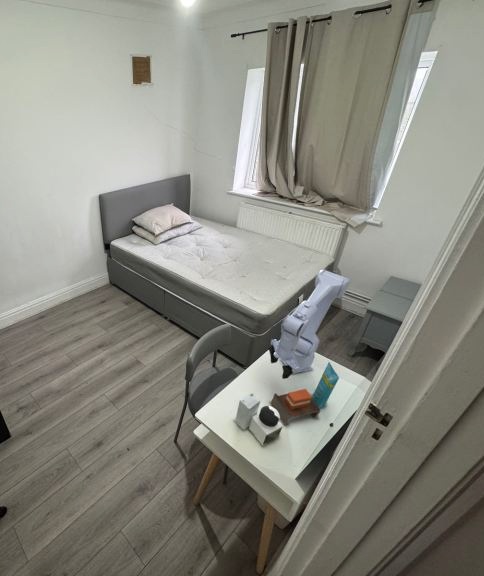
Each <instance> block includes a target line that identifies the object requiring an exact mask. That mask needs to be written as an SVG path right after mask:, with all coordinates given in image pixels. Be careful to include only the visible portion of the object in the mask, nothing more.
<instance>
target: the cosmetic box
mask: <svg viewBox="0 0 484 576" xmlns="http://www.w3.org/2000/svg"><path fill="white" fill-rule="evenodd" d="M260 404H261V400H260V399H259V398H258V397H257V396H256V395H254V393H252V392H250V393H248V394H247V395H246V396H244V397H243V398H241V399H240V400H239V403H238V405H237V410H236V415H235V419H234V422H235V423H236V424H237V425H238V426H239V427H240V428H241V429H242V430H243V431H244V430H246V429H247V428H249V426H250V423H251V419H252V417H253V416H255V415H257V414H258V412H259V409H260Z"/></svg>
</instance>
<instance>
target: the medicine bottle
mask: <svg viewBox="0 0 484 576" xmlns="http://www.w3.org/2000/svg"><path fill="white" fill-rule="evenodd" d="M280 420H281V418H280V415H279V413H278V411H277V410H276V409H275V408H274V407H273V406H272V405H271V406H270V405H264V406H262V407H261V408H260V411H259V413H257V415H255V416H253V417H252V419H251V423H250V426H249V427H248V429H249V431H250V432H251V433H252V434H253V436H254V437H255V438H256V439H257V441H258V442H259V443H260V444H261V446H265V445H267V444H269V443H271V442H273V441H274V440H276V439H278V438H279V437H280V434H281V432H282V429H283V426H284V424H282V423H281V422H280Z"/></svg>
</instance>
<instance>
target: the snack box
mask: <svg viewBox="0 0 484 576" xmlns="http://www.w3.org/2000/svg"><path fill="white" fill-rule="evenodd" d="M312 396H313V395H311V394H310V392H309V390H307V388H303V389H299V390H295V391H290V392H288V395H287V397H286V400H285V402H286V403H287V405H288V406H289V407H290V409H295V408H300V407H304V406H308V405H309V403H310V401H311V399H312Z"/></svg>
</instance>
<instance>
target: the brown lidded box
mask: <svg viewBox="0 0 484 576" xmlns="http://www.w3.org/2000/svg"><path fill="white" fill-rule="evenodd" d="M288 393H289V392H288ZM288 393H283V394H277V393H274V394H273V397H272V400H271V402H270V405H271V407H273V408H275V409H276V410H277V411H278V413H279V415H280V420H281V421H282V423H283V426H287V425H288V424H289V421H290V420H291V419H293V418H297V417H302V416H306V415H310V414H311V416H312V417H313V419H316V418H318V417H319V414H320V412H321V408H319V407H318V406H317V405H316V404H315V402H314V401H313V400H312V399H311V401H310V403H309V405H308V406H304V407H300V408H295V409H290V407H289V406H288V405H287V403H286V402H285V400H286V397H287V395H288Z"/></svg>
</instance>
